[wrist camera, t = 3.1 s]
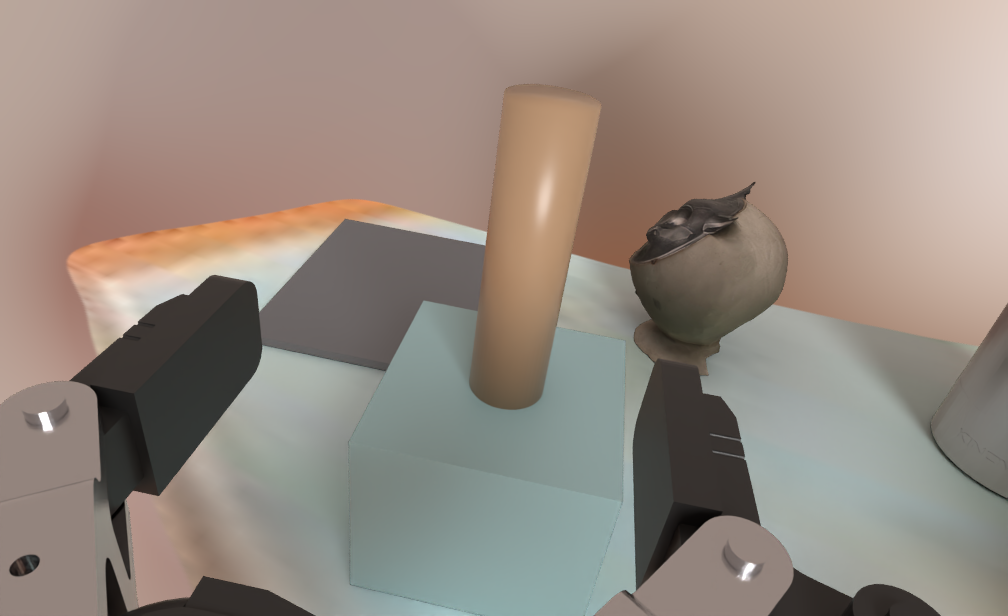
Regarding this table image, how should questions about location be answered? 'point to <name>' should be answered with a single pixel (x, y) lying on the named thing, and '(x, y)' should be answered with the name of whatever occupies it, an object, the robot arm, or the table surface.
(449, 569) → the peg on square base
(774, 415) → the table surface
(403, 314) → the mat
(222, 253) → the table surface
